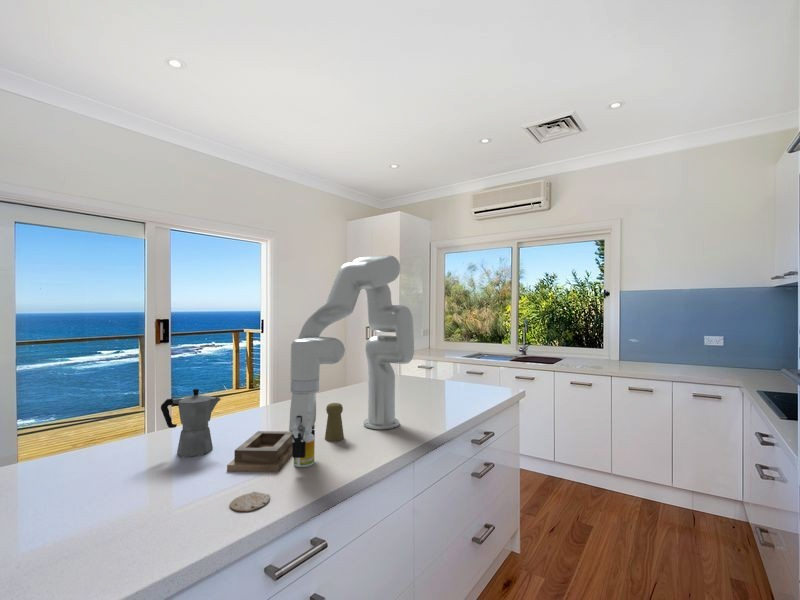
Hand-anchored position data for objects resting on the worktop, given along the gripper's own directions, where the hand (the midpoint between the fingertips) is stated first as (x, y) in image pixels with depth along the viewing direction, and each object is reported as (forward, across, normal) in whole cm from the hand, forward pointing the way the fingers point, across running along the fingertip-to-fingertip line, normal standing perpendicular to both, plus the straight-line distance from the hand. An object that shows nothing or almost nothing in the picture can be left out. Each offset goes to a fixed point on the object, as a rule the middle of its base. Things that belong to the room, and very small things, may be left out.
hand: (303, 450), depth 105 cm
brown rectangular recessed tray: (+4, -5, -12) cm, 13 cm away
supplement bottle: (+4, -1, 0) cm, 4 cm away
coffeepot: (+4, -8, -35) cm, 36 cm away
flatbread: (+4, +21, -6) cm, 22 cm away
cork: (+4, -21, +4) cm, 22 cm away
